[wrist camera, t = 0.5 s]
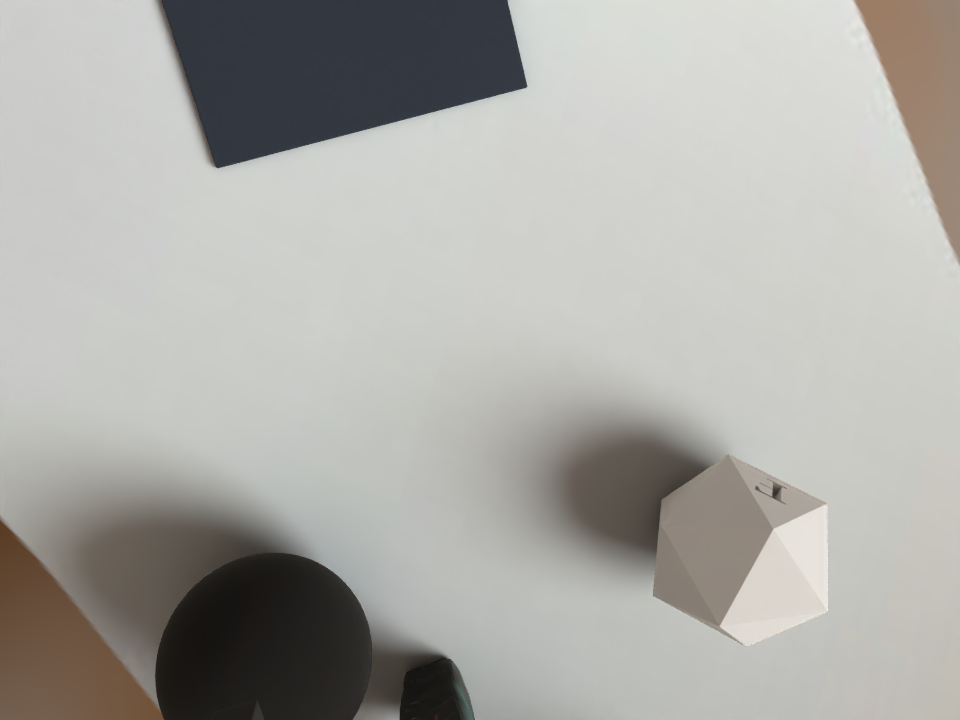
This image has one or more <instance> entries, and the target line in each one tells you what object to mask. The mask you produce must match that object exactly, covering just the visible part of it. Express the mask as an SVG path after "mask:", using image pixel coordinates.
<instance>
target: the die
mask: <svg viewBox="0 0 960 720" xmlns="http://www.w3.org/2000/svg"><path fill="white" fill-rule="evenodd" d="M653 596H654V597H656V598H658V599H660V600H662V601H664V602H666V603H667V604H669V605H671V606H673V607H675V608H677V609H678V610H680V611H682V612H684V613H686V614H688V615H689V616H691V617H693V618H695V619H697V620H699V621H700V622H702V623H704V624H706V625H708V626H710V627H711V628H713V629H715V630H717V631H719V632H721V633H722V634H724V635H726V636H728V637H730V638H732V639H733V640H735V641H737V642H739V643H741V644H743V645H744V646H746V647H747V646H750V645H752V644H754V643H757V642H759V641H761V640H764V639H766V638H768V637H771V636H773V635H775V634H778V633H780V632H782V631H785V630H787V629H789V628H792V627H794V626H796V625H799V624H801V623H803V622H806V621H808V620H810V619H813V618H815V617H817V616H820V615H822V614H824V613H826V612H828V542H827V503H825V502H823V501H821V500H819V499H817V498H815V497H813V496H811V495H809V494H807V493H805V492H803V491H801V490H799V489H797V488H795V487H793V486H791V485H789V484H787V483H785V482H783V481H781V480H779V479H777V478H775V477H773V476H771V475H769V474H767V473H765V472H763V471H761V470H759V469H757V468H755V467H753V466H750V465H748V464H746V463H744V462H742V461H740V460H738V459H736V458H734V457H732V456H730V455H727V456H725V457H724V458H722V459H721V460H719V461H718V462H716V463H715V464H714V465H712V466H711V467H709V468H708V469H706V470H705V471H703V472H702V473H700V474H699V475H697V476H696V477H694V478H693V479H691V480H690V481H688V482H687V483H685V484H684V485H682V486H681V487H679V488H678V489H676V490H675V491H674V492H672V493H671V494H669V495H668V496H666V497H665V498H663V499H662V500H661V510H660V521H659V532H658V544H657V555H656V566H655V578H654V589H653Z"/></svg>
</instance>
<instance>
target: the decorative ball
mask: <svg viewBox="0 0 960 720" xmlns="http://www.w3.org/2000/svg"><path fill="white" fill-rule="evenodd" d="M371 664H372V644H371V636H370V630H369V626H368V623H367V620H366V617H365V614H364V611H363V609H362V607H361V605H360V603H359V601H358V600H357V598H356V596H355V595H354V593H353V592H352V591H351V589H350V588H349V587H348V586H347V585H346V583H345V582H344V581H343V580H342V579H341V578H339V577H338V576H337V575H336V574H335V573H333V572H332V571H331V570H329V569H328V568H326V567H325V566H323V565H321V564H319V563H317V562H315V561H313V560H310V559H308V558H304V557H301V556H297V555H292V554H285V553H263V554H256V555H252V556H247V557H244V558H240V559H237V560H235V561H232V562H230V563H228V564H226V565H224V566H222V567H220V568H218V569H217V570H215V571H213V572H212V573H210V574H209V575H208V576H206V577H205V578H204V579H202V580H201V581H200V582H199V583H198V584H196V585H195V586H194V587H193V588H192V589H191V590H190V591H189V592H188V594H187V595H186V596H185V597H184V598H183V600H182V601H181V602H180V604H179V605H178V606H177V608H176V609H175V611H174V613H173V614H172V616H171V618H170V620H169V622H168V624H167V626H166V628H165V630H164V633H163V636H162V639H161V642H160V645H159V649H158V654H157V660H156V672H155V681H156V692H157V698H158V703H159V706H160V710H161V712H162V715H163V718H164V720H210V719H211V716H212V714H213V712H215V711H218V710H222V709H226V708H229V707H233V706H236V705H240V704H244V703H247V702H251V701H255V700H257V701H258V704H259V706H260V709H261V712H262V715H263V718H264V720H353V718H354V716H355V715H356V713H357V711H358V709H359V707H360V705H361V703H362V700H363V698H364V695H365V693H366V689H367V686H368V682H369V678H370V672H371Z"/></svg>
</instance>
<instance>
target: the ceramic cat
mask: <svg viewBox="0 0 960 720" xmlns="http://www.w3.org/2000/svg"><path fill="white" fill-rule="evenodd" d="M400 720H475V718H474V714H473V709H472V705H471V701H470V697H469V694H468V692H467V689H466V687H465V685H464V682H463V679H462V676H461V674H460V671H459V670H458V668H457V666H456V665H455V664H454V662H453V661H452V660H451V659H444V660H440V661H437V662H435V663H432V664H430V665H428V666H426V667H424V668H421V669H416V670H412V671H409V672H407V673H406V675H405V679H404V690H403V694H402V699H401V705H400Z"/></svg>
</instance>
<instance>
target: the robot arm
mask: <svg viewBox="0 0 960 720" xmlns="http://www.w3.org/2000/svg"><path fill="white" fill-rule="evenodd" d="M210 720H264V718H263V715H262V712H261V709H260V706H259V704H258V701H257V700H255V701H251V702H247V703H244V704H240V705H236V706H233V707H229V708H226V709H222V710H218V711H215V712H213V714H212V716H211V719H210Z"/></svg>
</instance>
